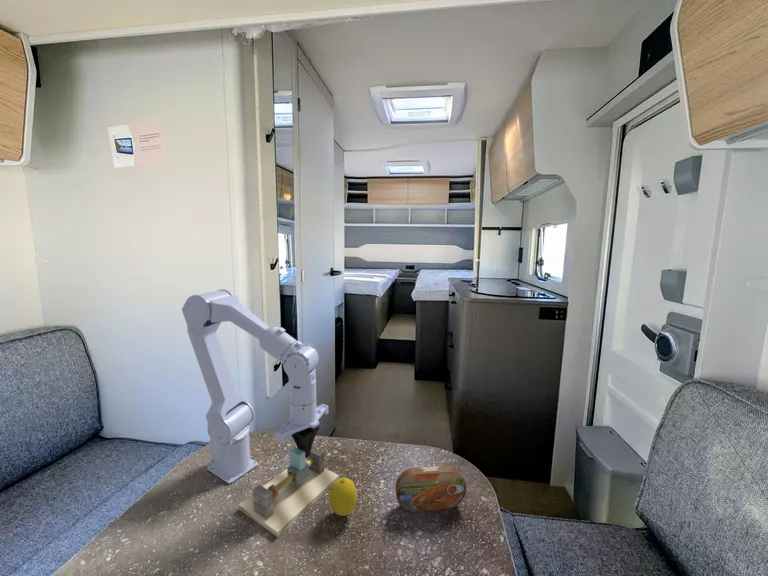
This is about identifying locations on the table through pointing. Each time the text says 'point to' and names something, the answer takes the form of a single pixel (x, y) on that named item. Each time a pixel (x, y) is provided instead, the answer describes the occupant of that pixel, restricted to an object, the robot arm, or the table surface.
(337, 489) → the lemon
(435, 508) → the tin
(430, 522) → the table surface
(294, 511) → the rod and block board
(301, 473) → the sleeve
